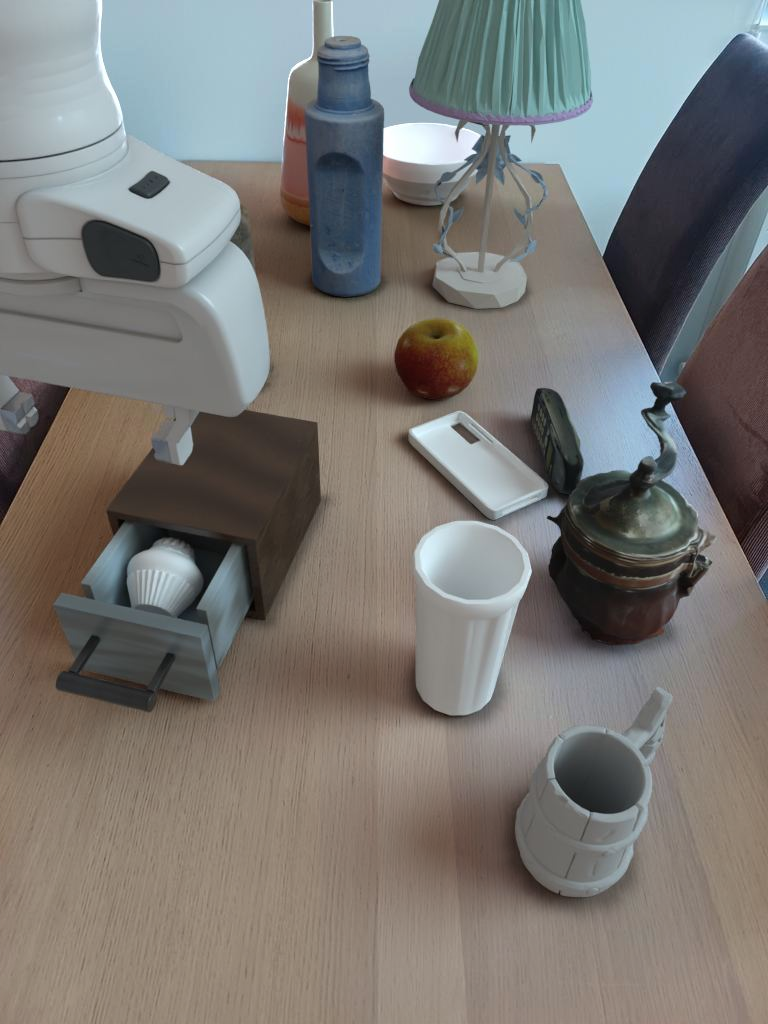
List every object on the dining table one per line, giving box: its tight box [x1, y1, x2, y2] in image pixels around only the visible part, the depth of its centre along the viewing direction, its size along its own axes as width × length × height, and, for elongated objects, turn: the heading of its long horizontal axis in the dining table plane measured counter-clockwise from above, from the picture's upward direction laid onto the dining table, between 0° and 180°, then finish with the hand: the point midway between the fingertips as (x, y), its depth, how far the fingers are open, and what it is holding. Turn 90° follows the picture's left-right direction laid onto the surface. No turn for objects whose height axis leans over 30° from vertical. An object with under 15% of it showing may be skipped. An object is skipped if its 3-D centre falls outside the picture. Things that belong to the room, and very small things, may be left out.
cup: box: [411, 520, 533, 716], centre depth 59 cm, size 8×8×14 cm
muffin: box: [127, 537, 204, 618], centre depth 65 cm, size 6×6×7 cm
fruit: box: [393, 318, 479, 401], centre depth 91 cm, size 10×9×8 cm
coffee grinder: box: [546, 381, 717, 645], centre depth 65 cm, size 13×15×18 cm
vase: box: [279, 0, 334, 227], centre depth 118 cm, size 14×14×30 cm
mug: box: [514, 686, 673, 898], centre depth 51 cm, size 8×12×12 cm, turn 133°
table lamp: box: [408, 0, 594, 310], centre depth 98 cm, size 22×22×40 cm
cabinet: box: [105, 409, 322, 620], centre depth 71 cm, size 16×13×10 cm
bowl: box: [383, 122, 481, 207], centre depth 133 cm, size 19×20×8 cm
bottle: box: [305, 35, 385, 298], centre depth 102 cm, size 10×10×30 cm
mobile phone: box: [530, 387, 585, 496], centre depth 83 cm, size 5×3×15 cm
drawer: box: [52, 520, 254, 714], centre depth 63 cm, size 19×11×8 cm, turn 166°
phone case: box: [407, 410, 549, 521], centre depth 83 cm, size 7×1×15 cm
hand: (96, 441), depth 45 cm, fingers open, 8 cm apart
